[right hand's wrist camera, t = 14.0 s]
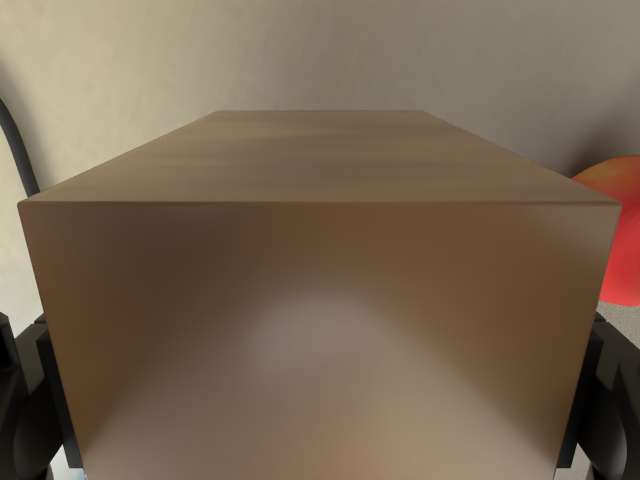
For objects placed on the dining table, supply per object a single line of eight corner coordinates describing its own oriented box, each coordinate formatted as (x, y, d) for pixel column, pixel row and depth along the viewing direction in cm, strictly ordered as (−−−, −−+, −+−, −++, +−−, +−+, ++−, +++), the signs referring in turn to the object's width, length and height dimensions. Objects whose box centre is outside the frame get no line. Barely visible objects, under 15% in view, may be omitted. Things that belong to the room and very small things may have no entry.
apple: (515, 270, 37) (581, 340, 28) (516, 154, 33) (593, 190, 24) (636, 254, 36) (746, 321, 27) (651, 135, 33) (782, 164, 24)
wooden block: (422, 110, 17) (624, 202, 6) (408, 297, 20) (523, 604, 8) (216, 110, 17) (13, 202, 6) (231, 297, 20) (116, 605, 8)
